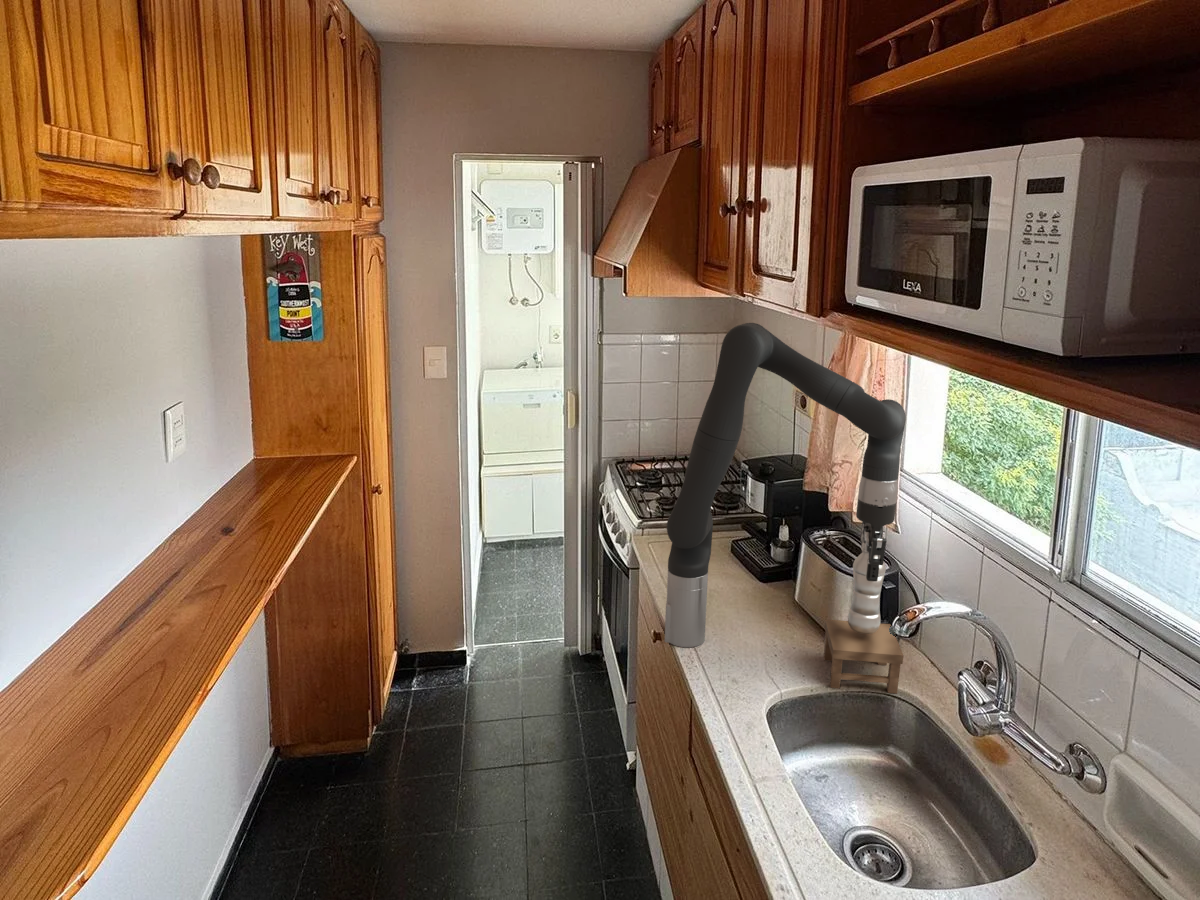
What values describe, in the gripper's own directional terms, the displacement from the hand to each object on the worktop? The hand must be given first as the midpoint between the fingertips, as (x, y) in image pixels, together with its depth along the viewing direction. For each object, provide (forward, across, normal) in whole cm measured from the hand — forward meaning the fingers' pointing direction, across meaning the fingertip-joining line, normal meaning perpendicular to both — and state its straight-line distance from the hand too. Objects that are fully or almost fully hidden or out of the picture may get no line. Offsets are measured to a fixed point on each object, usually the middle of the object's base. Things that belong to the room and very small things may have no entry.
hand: (868, 573), depth 173 cm
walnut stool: (+24, 0, 0) cm, 24 cm away
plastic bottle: (+13, 0, 0) cm, 13 cm away
